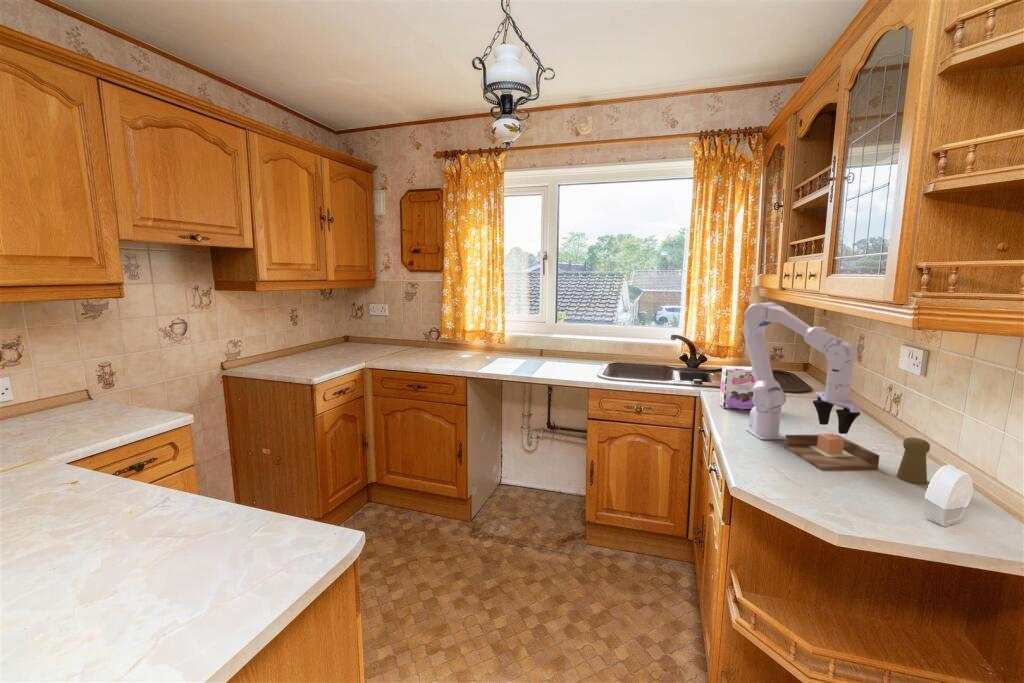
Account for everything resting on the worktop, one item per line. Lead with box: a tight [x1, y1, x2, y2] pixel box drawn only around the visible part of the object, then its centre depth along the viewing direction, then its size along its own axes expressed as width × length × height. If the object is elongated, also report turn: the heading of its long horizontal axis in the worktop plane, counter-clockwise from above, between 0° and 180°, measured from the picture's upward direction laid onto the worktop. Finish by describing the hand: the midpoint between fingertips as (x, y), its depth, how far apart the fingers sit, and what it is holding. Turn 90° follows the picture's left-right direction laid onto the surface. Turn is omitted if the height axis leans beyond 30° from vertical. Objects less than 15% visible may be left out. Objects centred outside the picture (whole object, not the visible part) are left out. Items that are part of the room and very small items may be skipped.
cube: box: [817, 433, 844, 454], centre depth 133 cm, size 4×4×4 cm
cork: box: [896, 436, 931, 485], centre depth 117 cm, size 6×6×11 cm
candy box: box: [718, 365, 756, 410], centre depth 179 cm, size 14×6×16 cm, turn 80°
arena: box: [784, 434, 880, 471], centre depth 131 cm, size 16×16×4 cm
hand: (832, 428), depth 132 cm, fingers open, 7 cm apart
